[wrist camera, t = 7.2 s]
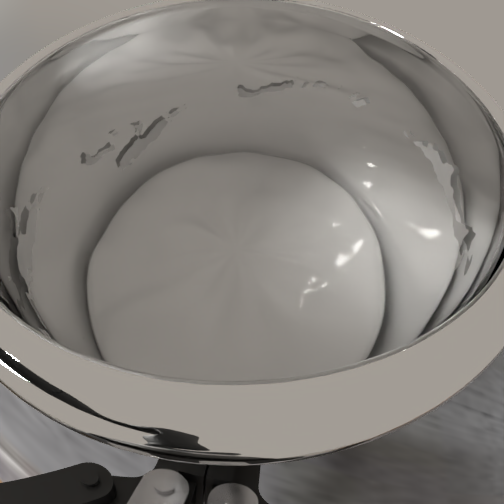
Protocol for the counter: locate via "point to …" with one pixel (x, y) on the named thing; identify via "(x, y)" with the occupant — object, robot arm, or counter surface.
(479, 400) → the counter surface
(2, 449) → the counter surface
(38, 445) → the counter surface
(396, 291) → the silver metal cup
